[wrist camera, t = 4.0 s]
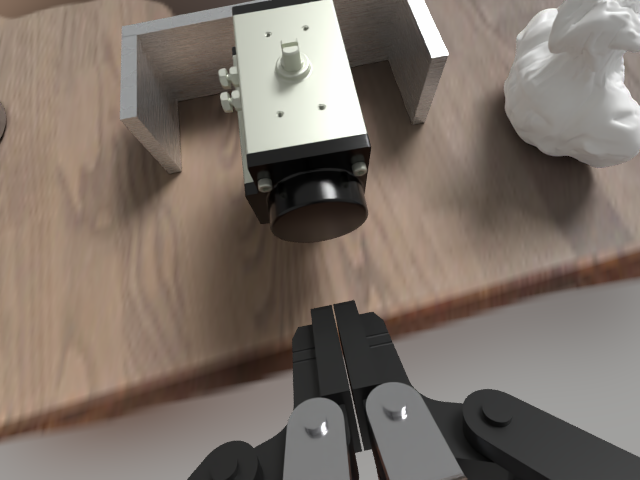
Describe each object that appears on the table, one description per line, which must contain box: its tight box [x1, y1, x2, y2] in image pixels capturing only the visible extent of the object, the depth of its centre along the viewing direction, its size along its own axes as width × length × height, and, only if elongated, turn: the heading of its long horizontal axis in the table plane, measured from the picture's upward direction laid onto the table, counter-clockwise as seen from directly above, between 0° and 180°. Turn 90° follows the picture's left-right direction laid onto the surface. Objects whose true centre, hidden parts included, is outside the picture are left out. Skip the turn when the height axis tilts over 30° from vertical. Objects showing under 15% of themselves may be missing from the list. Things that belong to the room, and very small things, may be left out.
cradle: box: [120, 0, 449, 174], centre depth 24 cm, size 20×8×6 cm, turn 101°
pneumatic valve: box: [218, 0, 371, 243], centre depth 18 cm, size 6×12×12 cm, turn 9°
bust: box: [504, 0, 640, 168], centre depth 21 cm, size 12×8×11 cm
